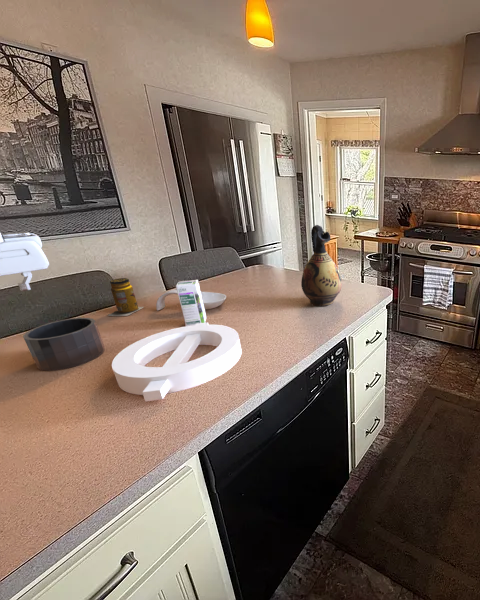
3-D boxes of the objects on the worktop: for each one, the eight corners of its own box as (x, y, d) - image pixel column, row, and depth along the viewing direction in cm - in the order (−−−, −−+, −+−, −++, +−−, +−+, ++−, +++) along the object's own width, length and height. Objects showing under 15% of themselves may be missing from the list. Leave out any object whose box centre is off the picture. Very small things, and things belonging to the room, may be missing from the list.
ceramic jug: (349, 304, 128) (345, 227, 118) (311, 312, 120) (303, 230, 109) (332, 292, 141) (327, 222, 131) (296, 298, 133) (288, 224, 122)
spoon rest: (231, 300, 131) (228, 283, 128) (221, 311, 120) (218, 293, 118) (167, 303, 127) (162, 286, 125) (151, 315, 116) (145, 297, 114)
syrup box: (185, 327, 108) (174, 285, 103) (188, 320, 113) (178, 280, 108) (205, 324, 110) (195, 283, 105) (207, 317, 115) (198, 278, 110)
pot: (41, 377, 81) (26, 345, 78) (33, 359, 88) (20, 329, 85) (111, 355, 91) (100, 326, 88) (98, 340, 99) (88, 313, 95)
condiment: (144, 307, 124) (135, 277, 119) (128, 316, 116) (117, 284, 112) (125, 307, 123) (115, 277, 119) (107, 316, 116) (96, 284, 111)
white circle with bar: (206, 330, 105) (203, 317, 104) (262, 353, 92) (260, 338, 90) (97, 372, 83) (91, 356, 81) (151, 410, 70) (145, 392, 68)
